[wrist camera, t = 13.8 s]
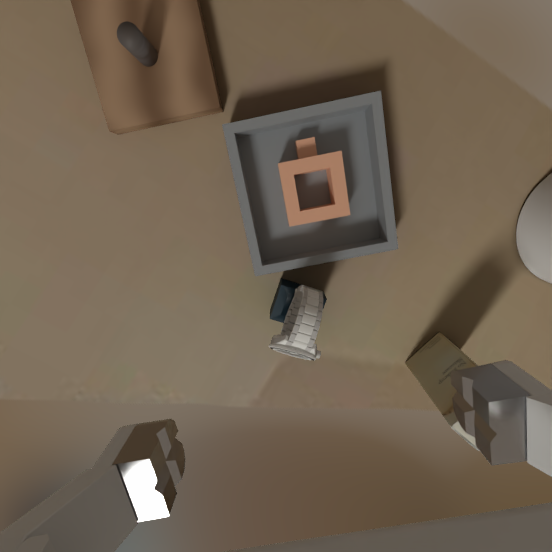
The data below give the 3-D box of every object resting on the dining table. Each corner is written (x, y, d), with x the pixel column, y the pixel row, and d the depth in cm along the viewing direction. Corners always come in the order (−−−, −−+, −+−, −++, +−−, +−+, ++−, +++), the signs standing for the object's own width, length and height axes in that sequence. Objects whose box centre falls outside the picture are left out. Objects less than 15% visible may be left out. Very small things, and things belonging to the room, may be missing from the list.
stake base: (195, -16, 33) (176, -65, 27) (223, 111, 36) (211, 94, 30) (82, 11, 34) (38, -30, 28) (118, 134, 37) (85, 122, 31)
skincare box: (438, 330, 42) (500, 383, 31) (461, 351, 43) (531, 410, 31) (402, 363, 44) (449, 427, 32) (425, 383, 44) (479, 453, 32)
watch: (265, 323, 42) (261, 367, 32) (285, 264, 40) (288, 290, 30) (307, 336, 43) (317, 383, 32) (328, 278, 41) (346, 308, 30)
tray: (371, 100, 36) (380, 90, 33) (387, 244, 40) (398, 248, 36) (227, 131, 37) (222, 124, 33) (257, 269, 41) (255, 276, 37)
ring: (333, 134, 36) (338, 129, 33) (344, 213, 38) (350, 215, 35) (274, 147, 37) (274, 143, 34) (288, 224, 39) (289, 226, 36)
